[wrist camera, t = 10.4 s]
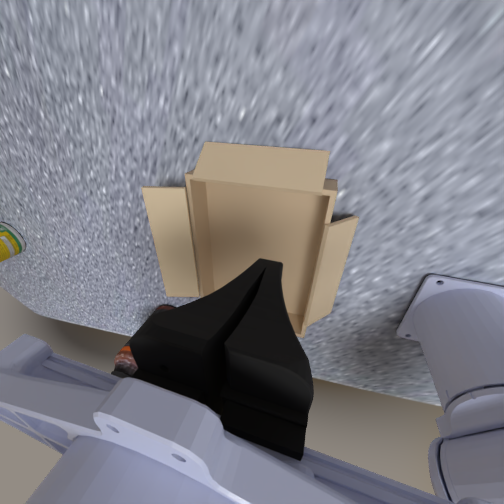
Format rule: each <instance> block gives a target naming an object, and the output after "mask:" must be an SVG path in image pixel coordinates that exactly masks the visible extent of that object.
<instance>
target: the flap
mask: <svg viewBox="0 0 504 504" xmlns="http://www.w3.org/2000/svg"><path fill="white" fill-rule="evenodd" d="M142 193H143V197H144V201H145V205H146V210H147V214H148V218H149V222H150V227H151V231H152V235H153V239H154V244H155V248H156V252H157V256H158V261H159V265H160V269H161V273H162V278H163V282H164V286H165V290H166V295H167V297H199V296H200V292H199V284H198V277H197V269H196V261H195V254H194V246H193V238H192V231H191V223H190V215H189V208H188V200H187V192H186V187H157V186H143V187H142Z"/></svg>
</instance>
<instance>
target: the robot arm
mask: <svg viewBox="0 0 504 504" xmlns="http://www.w3.org/2000/svg"><path fill="white" fill-rule="evenodd" d="M282 271H283V263H282V262H278V261H272V260H267V259H262V258H259V259H258V260H257V261H256V262H254V263H253V264H252V265H251V266H250V267H249V268H247V269H246V270H245V271H244V272H242V273H241V274H240V275H239V276H237V277H236V278H235V279H233V280H232V281H230V282H229V283H227V284H226V285H224V286H223V287H221V288H220V289H218V290H216V291H214V292H213V293H211V294H209V295H207V296H204V297H202V298H200V299H198V300H196V301H193V302H191V303H188V304H186V305H183V306H180V307H177V308H174V309H170V310H167V311H163V312H160V313H156V314H153V315H152V316H151V317H150V318H149V319H148V320H147V321H146V322H145V323H144V324H143V325H142V326H141V328H140V329H139V330H138V331H137V332H136V333H135V335H134V336H133V337H132V338H131V339H130V343H129V346H130V350H131V353H132V355H133V358H134V360H135V362H136V365H137V367H138V369H137V370H136V371H135V373H134V374H133V375H132V377H131V378H130V377H127V378H124V379H122V378H120V377H117V376H114V375H112V374H109V373H106V372H104V371H101V370H98V369H96V368H93V367H90V366H88V365H85V364H82V363H80V362H77V361H74V360H72V359H69V358H66V357H64V356H61V355H58V354H55V353H53V350H52V349H51V347H50V346H49V345H48V344H47V343H46V342H45V341H43V340H41V339H38V338H36V337H33V336H30V335H27V334H23V335H22V336H20V337H19V338H18V339H16V340H15V341H14V342H12V343H11V344H9V345H8V346H7V347H5V348H4V349H2V350H1V351H0V420H1V421H3V422H5V423H7V424H9V425H10V426H12V427H14V428H16V429H18V430H20V431H22V432H24V433H25V434H27V435H29V436H31V437H32V438H34V439H36V440H38V441H40V442H41V443H43V444H45V445H47V446H48V447H50V448H52V449H54V450H55V451H57V452H59V453H61V454H62V455H63V456H62V457H61V458H60V460H59V461H58V462H57V463H56V465H55V466H54V467H53V469H52V470H51V471H50V472H49V474H48V475H47V476H46V477H45V479H44V480H43V481H42V483H41V484H40V485H39V486H38V488H37V489H36V490H35V491H34V493H33V494H32V495H31V497H30V498H29V499H28V501H27V502H26V503H25V504H504V287H501V286H496V285H490V284H484V283H479V282H473V281H468V280H462V279H456V278H451V277H445V276H439V275H428V276H427V277H426V278H425V280H424V282H423V283H422V285H421V287H420V289H419V291H418V292H417V294H416V296H415V298H414V300H413V302H412V303H411V305H410V307H409V309H408V311H407V312H406V314H405V316H404V318H403V320H402V322H401V323H400V325H399V327H398V329H397V331H396V333H397V335H398V336H399V337H402V338H406V339H410V340H414V341H418V342H420V344H421V347H422V350H423V353H424V356H425V359H426V362H427V364H428V367H429V370H430V373H431V376H432V379H433V382H434V385H435V387H436V390H437V393H438V396H439V399H440V402H441V405H442V408H443V410H444V413H445V414H444V415H443V416H441V417H439V418H436V422H437V425H438V429H439V432H440V434H441V437H438V438H436V439H434V440H433V441H432V442H431V444H430V447H429V451H428V452H429V453H428V462H429V472H430V478H431V482H432V486H433V489H434V492H435V495H436V496H435V495H432V494H430V493H427V492H424V491H421V490H419V489H416V488H414V487H411V486H408V485H406V484H403V483H400V482H398V481H395V480H392V479H389V478H387V477H384V476H382V475H379V474H376V473H374V472H371V471H368V470H366V469H363V468H360V467H358V466H355V465H352V464H350V463H347V462H344V461H342V460H339V459H336V458H333V457H330V456H328V455H325V454H323V453H320V452H317V451H315V450H312V449H309V448H307V447H304V444H305V433H306V427H307V422H308V413H309V409H310V407H311V403H312V400H313V394H314V392H313V381H312V374H311V369H310V365H309V360H308V357H307V356H306V354H305V352H304V350H303V348H302V346H301V345H300V343H299V340H298V338H297V336H296V334H295V332H294V329H293V327H292V324H291V322H290V319H289V316H288V313H287V309H286V305H285V301H284V296H283V290H282V281H281V280H282ZM439 280H442V281H441V282H437V281H439ZM407 334H408V335H407Z"/></svg>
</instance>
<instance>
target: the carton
mask: <svg viewBox="0 0 504 504" xmlns="http://www.w3.org/2000/svg"><path fill="white" fill-rule="evenodd" d="M329 153H330V151H322V150H309V149H295V148H282V147H268V146H255V145H242V144H228V143H215V142H205V143H204V146H203V149H202V151H201V154H200V157H199V159H198V162H197V165H196V168H195V169H194V170H192V171H190V172H187V173H185V180H186V188H187V195H188V203H189V211H190V219H191V226H192V234H193V242H194V250H195V257H196V265H197V273H198V281H199V288H200V296H201V298H202V297H204V296H207V295H209V294H211V293H213V292H214V291H216V290H218V289H220V288H221V287H223V286H224V285H226V284H227V283H229V282H230V281H232V280H233V279H235V278H236V277H237V276H239V275H240V274H241V273H242V272H244V271H245V270H246V269H247V268H249V267H250V266H251V265H252V264H253V263H254V262H256V261H257V260H258V259H259V258H262V259H267V260H272V261H278V262H282V263H283V271H282V280H281V281H282V290H283V296H284V301H285V305H286V309H287V313H288V316H289V319H290V322H291V324H292V327H293V329H294V332H295V334H296V336H298V337H302V338H304V336H305V332H306V327H307V326H309V325H311V324H313V323H314V322H316V321H318V320H319V319H321V318H323V317H325V316H326V315H328V314H330V313H331V310H332V307H333V303H334V300H335V297H336V293H337V290H338V287H339V283H340V280H341V277H342V273H343V270H344V266H345V263H346V260H347V256H348V253H349V250H350V246H351V243H352V240H353V236H354V233H355V230H356V226H357V223H358V219H359V217H357V216H352V217H348V218H345V219H342V220H339V221H336V222H333V223H330V222H331V217H332V213H333V209H334V204H335V200H336V195H337V191H338V188H337V180H334V179H325V175H326V170H327V164H328V159H329Z"/></svg>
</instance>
